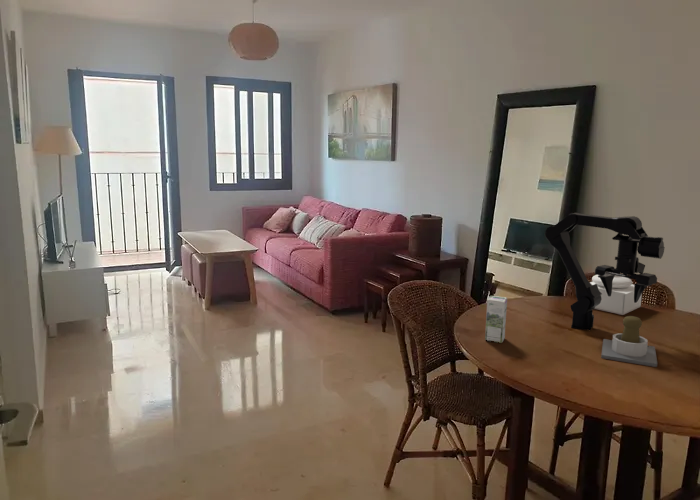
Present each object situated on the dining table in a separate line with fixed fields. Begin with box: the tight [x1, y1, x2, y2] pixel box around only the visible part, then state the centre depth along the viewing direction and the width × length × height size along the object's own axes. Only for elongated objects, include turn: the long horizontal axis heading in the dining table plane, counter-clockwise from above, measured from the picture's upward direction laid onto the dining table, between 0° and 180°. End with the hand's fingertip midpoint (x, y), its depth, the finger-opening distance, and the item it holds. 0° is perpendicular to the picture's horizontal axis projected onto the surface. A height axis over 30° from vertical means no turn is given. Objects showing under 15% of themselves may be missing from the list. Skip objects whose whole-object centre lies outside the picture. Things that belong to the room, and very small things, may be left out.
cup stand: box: [600, 332, 658, 368], centre depth 169 cm, size 15×16×5 cm
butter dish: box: [589, 274, 643, 316], centre depth 219 cm, size 18×18×16 cm
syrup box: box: [484, 295, 508, 344], centre depth 179 cm, size 6×6×14 cm
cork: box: [621, 315, 643, 343], centre depth 168 cm, size 6×6×11 cm
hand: (622, 299), depth 183 cm, fingers open, 9 cm apart
